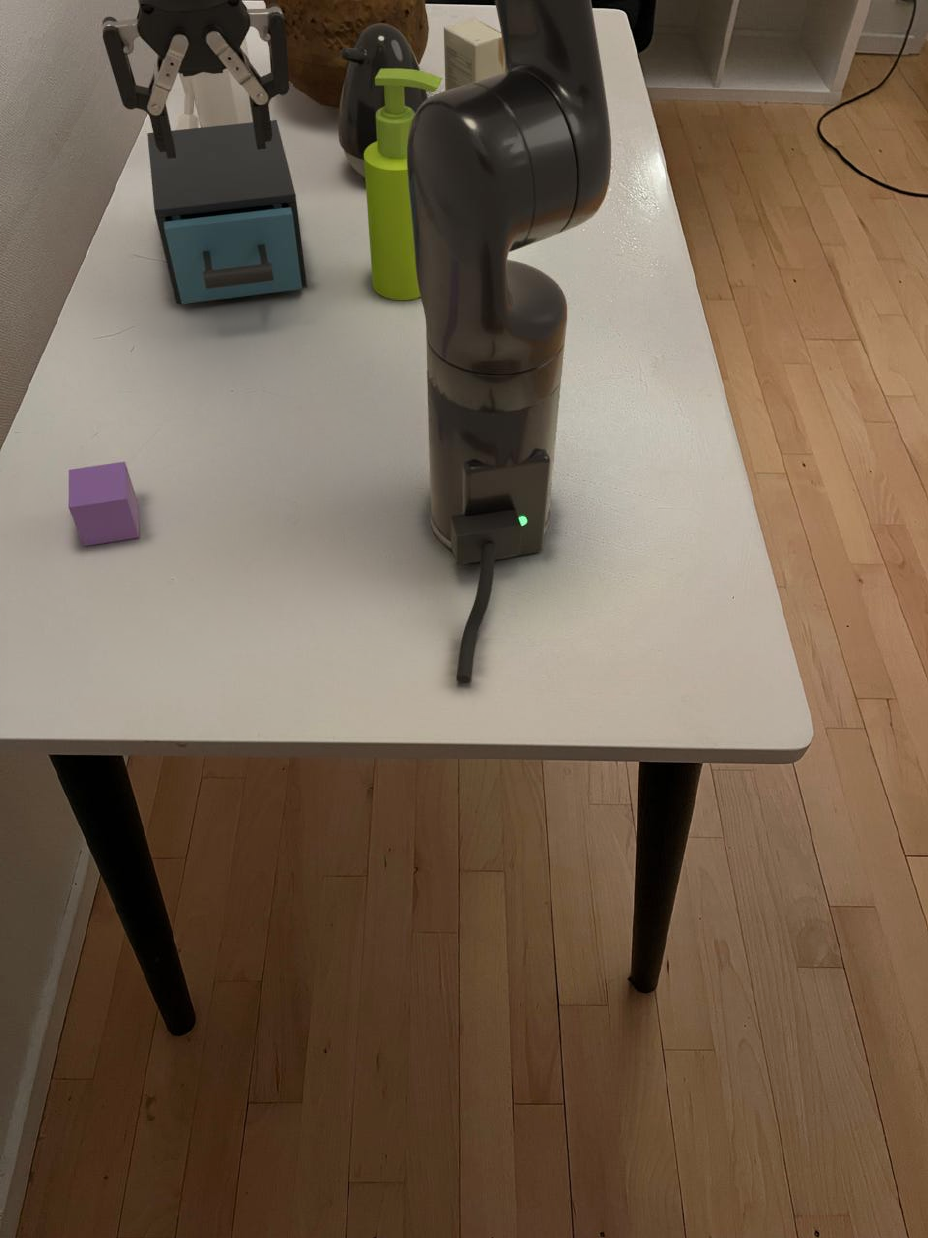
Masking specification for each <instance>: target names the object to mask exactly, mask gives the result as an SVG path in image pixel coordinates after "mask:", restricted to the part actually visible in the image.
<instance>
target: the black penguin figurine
mask: <svg viewBox="0 0 928 1238" xmlns="http://www.w3.org/2000/svg"><path fill="white" fill-rule="evenodd" d="M341 57H342V59H344V60H348V62H347V66H346V70H345V74H344V79H343V84H342V90H341V96H340V106H339V108H338V122H337V124H338V125H337V126H338V127H337V130H338V134H337V135H338V142H339V145H340V147H341V149H342V150H343V153H344V155H345V157H346V159H347V161H348V163H349V164H350V166H351V167H352V168H353V169H354V171H356V172H357V174H359V175H360V176H362V177H363V178H365V165H364V152H365V150H366V148H367V147H368V146H369V145H371V144H372V143H374V142H377V130H376V112H377V111H378V110H379V109H380V108H382V107H384V106H385V97H384V86H381V85H375V77H376V76H377V74H378V72H379V70H380V69H412V70H418V71H421V68H420V64H419V65H418V62H417V60H416V57H415V55H414V53H413V51H412V49H411V47H410V45H409V43H408V41H407V40H406V38H405V37H404V35H403V34H402V33H401V32H400V31H399V30H398V29H397V28H396V27H394V26H392V25H390V24H386V23H375V24H372V25H370V26H368V27H366V28H365V29H364V30H363V31H362V32H361V33H360V34H359V36H358V37H357V39H356V41H355V43H354V45H353V47H352V48H343V49H342V50H341ZM427 98H429V96H428V91H427V90H424V89H420V88H415V87H404V99H405V106H407V107H409V108H411V109H412V110H413V111H414V113H415V112H416V111H417V109H418V107H419V106H420V104H422V103H423V102H424V101H425V100H426V99H427Z"/></svg>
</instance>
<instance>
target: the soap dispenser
mask: <svg viewBox="0 0 928 1238" xmlns="http://www.w3.org/2000/svg"><path fill="white" fill-rule="evenodd" d="M442 81H443V78H442V77H440V76H437V75H435V74H432V73H429V72H426V71H422V70H420V71H418V70H412V69H380V70H379V72H378V74H377V76H376V77H375V85H381V86H384V97H385V106H384V107H382V108H380V109H379V110H378V111H377V112H376V130H377V142H374V143H372V144H371V145H369V146H368V147H367V148H366V150H365V152H364V165H365V177H364V178H365V192H366V193H365V194H366V207H367V208H366V209H367V219H368V221H367V223H368V234H369V235H368V236H369V250H370V263H371V264H370V265H371V278H372V287H373V290H374V291H375V292H376V293H377V294H378V295H379V296H381V297H383V298H386V299H389V300H394V301H411V300H415V299H418V298H421V296H420V292H419V287H418V282H417V275H416V265H415V250H414V238H413V226H412V216H411V206H410V196H409V186H408V172H407V145H408V136H409V130H410V126H411V122H412V119H413V117H414V114H415V113H414V111H413V110H412V109H411V108H409V107H407V106H405V99H404V87H415V88H420V89H424V90H426V91H427V92H431V93H434V92H436V91H437V90H438V89H439V87H440V85H441V82H442Z"/></svg>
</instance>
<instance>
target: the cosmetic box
mask: <svg viewBox="0 0 928 1238" xmlns="http://www.w3.org/2000/svg"><path fill="white" fill-rule="evenodd" d="M443 48H444V49H443V50H444V80H445V81H444V89H445V90H444V91H447V90H450V89H453V88H456V87H460V86H463V85H467V84H469V83H473V82H476V81H480V80H483V79H486V78H490V77H493V76H496V75H500V74H503V73H505V57H504V48H503V41H502V34H501V31H500V30H497V29H496V28H494V27H492V26H490V25H489V24H487V23H485V22H483V21H481V20H479V19H477V18H471V19H468V20H463V21H460V22H457V23H456V22H455V23H453V24H449V25H445V26H443Z"/></svg>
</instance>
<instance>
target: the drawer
mask: <svg viewBox="0 0 928 1238" xmlns="http://www.w3.org/2000/svg"><path fill="white" fill-rule="evenodd" d="M171 217H172V221H167V222H164V230H165V234H166V238H167V243H168V247H169V251H170V255H171V260H172V264H173V268H174V273H175V277H176V281H177V285H178V290H179V294H180V298H181V304H182V305H185V304H186V305H187V304H194V303H201V302H202V303H203V302H209V301H210V302H211V301H218V300H225V299H232V298H241V297H251V296H256V295H257V296H258V295H265V294H273V293H280V292H288V291H296V290H302V289H303V287H302V284H301V276H300V268H299V261H298V253H297V245H296V237H295V230H294V222H293V214H292V210H291V207H288V208H282V204H273V205H264V206H256V207H247V208H238V209H229V210H221V211H212V212H203V213H195V214H186V215H177V216H171Z"/></svg>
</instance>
